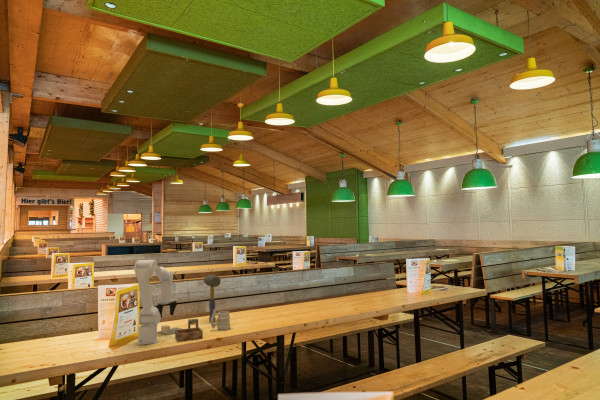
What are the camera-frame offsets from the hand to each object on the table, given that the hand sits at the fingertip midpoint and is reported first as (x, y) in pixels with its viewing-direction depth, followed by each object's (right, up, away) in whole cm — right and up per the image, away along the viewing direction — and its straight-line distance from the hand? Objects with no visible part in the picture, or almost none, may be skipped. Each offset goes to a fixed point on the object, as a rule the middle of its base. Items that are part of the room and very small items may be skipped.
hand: (166, 316), depth 223 cm
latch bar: (+15, -4, 0) cm, 16 cm away
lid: (+3, -10, +2) cm, 11 cm away
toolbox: (+16, -8, -10) cm, 20 cm away
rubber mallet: (+21, -11, +25) cm, 35 cm away
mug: (+31, -10, +5) cm, 32 cm away
